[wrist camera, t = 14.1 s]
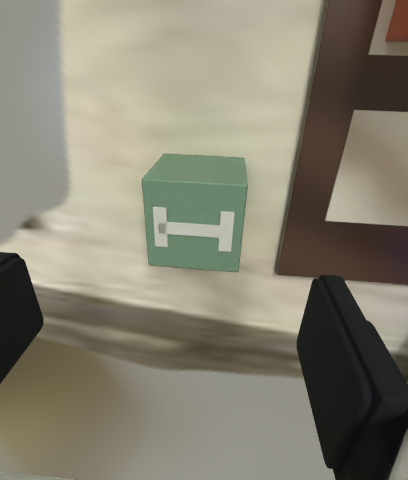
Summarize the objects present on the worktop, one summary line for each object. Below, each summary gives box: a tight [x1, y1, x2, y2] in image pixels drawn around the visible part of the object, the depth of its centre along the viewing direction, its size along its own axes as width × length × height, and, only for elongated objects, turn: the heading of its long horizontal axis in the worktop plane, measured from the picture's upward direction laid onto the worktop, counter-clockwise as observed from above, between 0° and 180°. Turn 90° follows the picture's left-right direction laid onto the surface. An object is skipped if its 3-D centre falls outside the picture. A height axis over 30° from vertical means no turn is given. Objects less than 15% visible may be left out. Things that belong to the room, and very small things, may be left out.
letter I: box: [142, 154, 248, 272], centre depth 15 cm, size 4×4×5 cm
